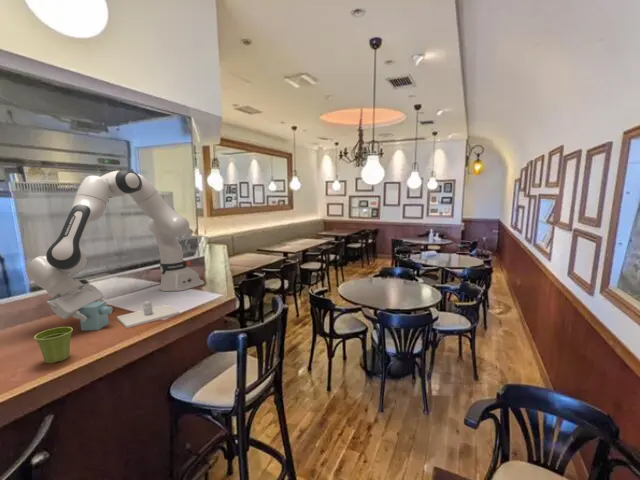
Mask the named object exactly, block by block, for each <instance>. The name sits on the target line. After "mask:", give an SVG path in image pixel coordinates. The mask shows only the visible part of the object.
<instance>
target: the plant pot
mask: <svg viewBox="0 0 640 480" xmlns="http://www.w3.org/2000/svg"><path fill="white" fill-rule="evenodd" d="M73 330H74V329H73V327H71V326H59V327H53V328H49V329H46V330H43V331H41V332H38V333H36V334H35V335H34V337H33V338H34V340H35V341H36V343H38V346H39V348H40V352H41V355H42V357H43V361H44V362H45V363H46V364H56V363H58V362H62V361H65V360H66V359H69V358H70V355H71V336H72V333H73Z"/></svg>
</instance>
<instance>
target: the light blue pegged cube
mask: <svg viewBox="0 0 640 480" xmlns="http://www.w3.org/2000/svg"><path fill="white" fill-rule="evenodd" d="M79 312H80V314H83V315H87V316H88V317H89V319H88V320H87V321H85V322H83V321H82V320H80V319H79V321H80V322H79V323H80V330H81V331H99V330H101V329H102V328H104V327H106V326H107V325H109V324H110V321H109V315H111V314H112V313H113V307H112V306H109V305H108V304H107V301H101V302H92V303H90V304H88V305H86V306H84V307H82V308H81V309H79Z"/></svg>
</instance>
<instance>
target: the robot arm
mask: <svg viewBox="0 0 640 480" xmlns="http://www.w3.org/2000/svg"><path fill="white" fill-rule="evenodd" d="M127 195H129V196H130V197H131V199H132V200H133V201H134V202H135V204H136V205H137V206H138V207H139V209H140V210H141V211H142V212H143V213H144V214H145V216H147V217H149V218H150V220H149V221H148V229H149V231H150V232H151V233H152V234H153V237H154V239H155V241H156V244H157V246H158V250H159V258H160V263H159V271H160V274H161V278H160V279H161V280H160V286H159V290H160V291H162V292H172V291H173V292H181V291H186V290H188V289H192V288H193V289H194V288H195V287H199V286H203V285H205V281H204V280H202V279H200V276H199V273H198V272H197V271H195V270H194V269H192V268H190V267H188V266H190V265H191V262H190V261H188V260H187V261H186V260H184V255H183V247H182V246H183V245H181V243H179V241H178V239H177V237H182V236H185V235H186V234H187V233H188V232H189V231H190V222H189V220H187V219H186V218H185V217H183V216H182V215H180V214H179V213H178V212H176V211H175V210H174V209H173V208H172V207H171V206H170V205H169V204H168V203H167V202H166V200H164V199H163V197H162V196H161V195H160V193H159V192H158V191H157V189H156V188H155V187H154V186H153V184H152V183H151V182H150V181H149V180H148V179H147V178H146V177H145V176H144V175H142V174H141V173H140V174H139V173H138V174H137V173H136V172H135V171H134V170H131V169H120V170H114V171H110V172H107V173H105V174H101V175H88V176H86V177H84V179H83V180H82V182H81V184H80V185H79V187H78V189H77V190H76V194H75V196H74V199H73V202H72V206H71V208H70V212H69V213H68V216H67V218H66V221H65V223H64V225H63V228H62V229H61V231H60V234H59V236H58V238H57V239H56V240H55V241H54V242H53V243H52V244H51V245H50V246H49V248H48V250H47V251H46V255H39V256H36V257H34V258H33V259H31V260H30V262H29V263H28V264H27V266H26V268H25V273H26V275H27V276H28V277H29V278H30V279H31V281H33V282H34V283H35V284H36V285H37V286H39V288H41V289H43V290H45V291H46V292H47V294H48V295H49V296H51V297H48V298H47V305H48V306H49V307H50V308H51V309H50V310H52V312H54V313H55V314H56V315H57V317H59V318H60V319H62V320H65V319H69V318H70V317H73V318H74V319H77V320H79V321H80V320H82V321H83V322H85V321H87V320H88V319H89V317H88V316H87V315H83V314H80V312H79V309H81V308H82V307H84V306H86V305H88V304H90V303H92V302H102V300H103V299H104V298H105V296H104V295H105V294H103V292H102V291H101V290H99V289H98V288H97V287H96V286H95V285H93V284H90V280H89V279H76V278H74V279H73V276H75V275H77V274H79V273H80V272H82V271H83V270H84V269H85V268H86V267H87V265H88V257H87V256H86V254H84V252H83V251H82V250H81V247H80V242H81V240H82V237H83V234H84V232H85V229H86V227H87V225H88V224H89V223H91V222H96V221H98V220H100V219H101V218H102V216H103V214H104V212H105V210H106V208H107V204H108V199H109V198H117V197H123V196H127Z"/></svg>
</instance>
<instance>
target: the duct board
mask: <svg viewBox="0 0 640 480" xmlns="http://www.w3.org/2000/svg"><path fill="white" fill-rule="evenodd" d="M142 305H143V307H142V308H143V309H142V310H138V311H134V312H129V313H125V314H121V315H117V316H116V320H117V321H119V322H120V323H121V324H122V325H123V326H124V328H126V329H129V328H132V327H133V328H134V327H137V326H141V325H144V324H148V323H151V322H156V321H158V320H163V319H166V318H170V317H174V316H177V315H181V314H180V311H179V310H178V309H176V308H174V307H173V306H171V305H169V304H167V303H166V304H162V305H158V306H155V307H153V304H152V302H151V301H150V300H146V301H144V302H143V304H142Z"/></svg>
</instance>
